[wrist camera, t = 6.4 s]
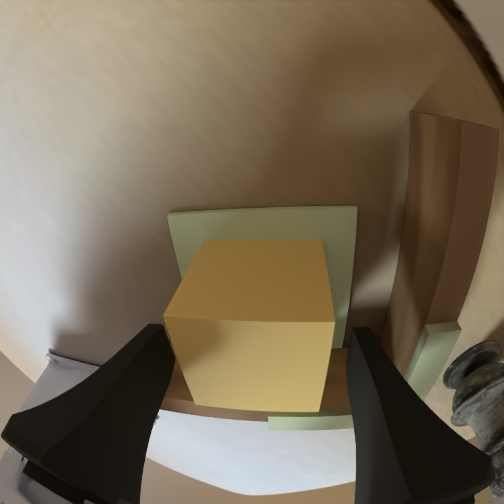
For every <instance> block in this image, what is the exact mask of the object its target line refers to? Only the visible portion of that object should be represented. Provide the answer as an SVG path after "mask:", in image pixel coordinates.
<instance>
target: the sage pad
mask: <svg viewBox="0 0 504 504" xmlns="http://www.w3.org/2000/svg"><path fill="white" fill-rule="evenodd" d="M357 210H358V208H357V206H297V207H265V208H240V209H220V210H203V211H187V212H172V213H168V214H167V219H168V224H169V228H170V233H171V237H172V242H173V246H174V251H175V255H176V259H177V263H178V267H179V271H180V275H181V279H183V278H184V276H185V274H186V272H187V270H188V269H189V267H190V265H191V263H192V262H193V260H194V258H195V256H196V254H197V253H198V251H199V249H200V247H201V246H202V244H203V242H204V241H205V240H322V244H323V249H324V255H325V260H326V266H327V272H328V278H329V284H330V290H331V296H332V303H333V309H334V316H335V327H334V334H333V340H332V346H331V349H335V348H342V346H343V340H344V334H345V328H346V321H347V314H348V307H349V299H350V291H351V283H352V274H353V264H354V253H355V241H356V227H357Z"/></svg>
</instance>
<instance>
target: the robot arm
mask: <svg viewBox="0 0 504 504" xmlns="http://www.w3.org/2000/svg"><path fill="white" fill-rule="evenodd" d="M46 359H47V360H48V362H49V364H48V366H47V367H46V369H45V370H44V372H43V373H42V375H41V376H40V378H39V379H38V381H37V382H36V384H35V385H34V387H33V388H32V390H31V391H30V393H29V395H28V396H27V398H26V399H25V401H24V403H23V405H22V407H21V409H20V412H19V413H16V414H12V416H11V418H10V419H9V421H8V423H7V425H6V426H5V428H4V430H3V432H2V434H1V438H2V439H3V440H4V441H5V442H7V443H8V444H9V445H10V448H9V449H8V450H6V451H5V452H4V454H3V456H2V458H1V460H0V504H140V491H141V481H142V474H143V467H144V462H145V457H146V452H147V447H148V443H149V439H150V435H151V431H152V428H153V425H155V424H156V420H155V419H156V417H157V414H158V412H159V409H160V407H161V404H162V401H163V399H164V396H165V394H166V391H167V389H168V386H169V383H170V381H171V377H172V373H173V369H174V364H175V360H176V358H175V355H174V353H173V350H172V348H171V345H170V343H169V340H168V337H167V335H166V332H165V329H164V327H163V325H162V324H150V323H149V324H148V325H147V326H146V327H145V328H144V329H143V330H141V331H140V332H139V333H138V334H137V335H136V336H135V337H134V338H133V339H132V340H131V341H129V342H128V343H127V344H126V345H125V346H124V347H123V348H122V349H121V350H120V351H118V352H117V353H116V354H115V355H114V356H113V357H112V358H111V359H109V360H108V361H107V362H106V363H105V364H103V365H102V366H101V367H98V366H94V365H90V364H86V363H82V362H78V361H74V360H70V359H67V358H63V357H60V356H56V355H53V354H50V353H47V355H46ZM346 374H347V388H348V394H349V400H350V406H351V413H352V419H353V425H354V432H355V441H356V489H355V504H474V503H475V499H474V495H475V494H476V493H478V492H480V491H482V490H483V489H485V488H486V487H488V486H490V485H491V484H492V483H494V482H495V480H496V475H495V470H494V465H493V462H492V459H491V456H489V455H488V454H486V453H485V452H483V451H481V450H480V449H478V448H476V447H475V446H473V445H472V444H470V443H469V442H468V441H466V440H465V439H464V438H462V437H461V436H460V435H459V434H457V433H456V432H455V431H454V430H453V429H452V428H450V427H449V426H448V425H447V424H446V423H445V422H444V421H442V420H441V419H440V418H439V417H438V416H437V415H436V414H435V413H434V412H433V411H432V410H431V409H430V408H429V407H428V406H427V405H426V404H425V403H424V401H423V400H422V399H421V398H420V397H419V396H418V395H417V393H416V392H415V391H414V390H413V389H412V387H411V386H410V385H409V384H408V382H407V381H406V380H405V379H404V377H403V376H402V375H401V373H400V372H399V370H398V369H397V368H396V366H395V365H394V363H393V362H392V361H391V359H390V358H389V356H388V355H387V353H386V352H385V350H384V349H383V347H382V346H381V344H380V342H379V341H378V339H377V338H376V336H375V334H374V333H373V331H372V329H371V328H370V327H369V326H367V327H353V329H352V334H351V340H350V345H349V350H348V355H347V360H346ZM487 504H504V496H501V497H499V498H497V499H495V500H493V501H491V502H489V503H487Z"/></svg>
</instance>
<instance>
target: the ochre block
mask: <svg viewBox="0 0 504 504" xmlns="http://www.w3.org/2000/svg"><path fill="white" fill-rule="evenodd" d="M163 319H164V322H165V325H166V328H167V331H168V334H169V337H170V339H171V342H172V345H173V348H174V351H175V353H176V356H177V359H178V362H179V364H180V367H181V370H182V372H183V375H184V377H185V380H186V382H187V385H188V387H189V390H190V392H191V395H192V397H193V400H194V402H195V404H196V405H202V406H210V407H219V408H229V409H240V410H253V411H272V412H319V409H320V404H321V399H322V395H323V390H324V385H325V380H326V375H327V369H328V364H329V358H330V352H331V346H332V340H333V334H334V327H335V316H334V309H333V303H332V296H331V290H330V284H329V278H328V272H327V266H326V260H325V255H324V249H323V244H322V240H205V241H204V242H203V244H202V246H201V247H200V249H199V251H198V253H197V254H196V256H195V258H194V260H193V262H192V263H191V265H190V267H189V269H188V270H187V272H186V274H185V276H184V278H183V279H182V281H181V283H180V285H179V287H178V289H177V290H176V292H175V294H174V296H173V298H172V300H171V301H170V303H169V305H168V307H167V309H166V311H165V313H164V314H163Z"/></svg>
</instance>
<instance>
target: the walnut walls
mask: <svg viewBox="0 0 504 504" xmlns="http://www.w3.org/2000/svg"><path fill="white" fill-rule="evenodd" d="M498 135H499V130H498V129H495V128H491V127H487V126H483V125H480V124H475V123H471V122H467V121H463V120H458V119H453V118H448V117H443V116H437V115H431V114H423V113H415V112H410V150H409V171H408V185H407V197H406V207H405V216H404V224H403V232H402V239H401V245H400V252H399V258H398V264H397V269H396V274H395V280H394V285H393V289H392V294H391V299H390V303H389V308H388V312H387V316H386V320H385V324H384V328H383V332H382V335H381V339H380V344H381V346H382V347H383V349H384V350H385V352H386V353H387V355H388V356H389V358H390V359H391V361H392V362H393V363H394V365H395V366H396V368H397V369H398V370H399V372H400V373H401V375H402V376H403V377H404V379H405V380H406V381H407V382H408V384H409V385H410V386H411V387H412V389H413V390H414V391H415V392H416V393H417V395H418V396H419V397H420V398H421V399H422V400H423V401H424V400H425V399H426V397H427V395H428V394H429V392H430V390H431V389H432V387H433V385H434V383H435V382H436V380H437V378H438V376H439V375H440V373H441V371H442V369H443V367H444V365H445V363H446V361H447V359H448V357H449V355H450V353H451V351H452V349H453V347H454V345H455V343H456V341H457V339H458V337H459V334H460V332H461V330H462V329H461V327H460V326H459V324H458V322H457V320H458V317H459V315H460V312H461V309H462V307H463V304H464V301H465V299H466V296H467V293H468V290H469V287H470V284H471V281H472V278H473V275H474V272H475V268H476V265H477V262H478V258H479V254H480V251H481V247H482V243H483V239H484V235H485V230H486V226H487V221H488V216H489V211H490V206H491V200H492V194H493V187H494V180H495V172H496V163H497V152H498ZM170 345H171V348H172V350H173V353H174V355H175V358H176V360H175V364H174V369H173V373H172V377H171V381H170V383H169V386H168V389H167V391H166V394H165V396H164V399H163V401H162V404H161V407H160V409H161V410H167V411H172V412H178V413H184V414H191V415H198V416H206V417H214V418H224V419H234V420H247V421H265V422H268V423H269V430H330V429H347V428H354V425H353V419H352V413H351V406H350V400H349V394H348V388H347V374H346V360H347V355H348V350H349V347H342V348H335V349H331V352H330V358H329V364H328V369H327V375H326V380H325V385H324V390H323V395H322V399H321V404H320V409H319V412H272V411H253V410H240V409H229V408H219V407H210V406H202V405H196V404H195V402H194V400H193V397H192V395H191V392H190V390H189V387H188V385H187V382H186V380H185V377H184V375H183V372H182V370H181V367H180V364H179V362H178V359H177V356H176V353H175V351H174V348H173V345H172V343H170Z"/></svg>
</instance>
